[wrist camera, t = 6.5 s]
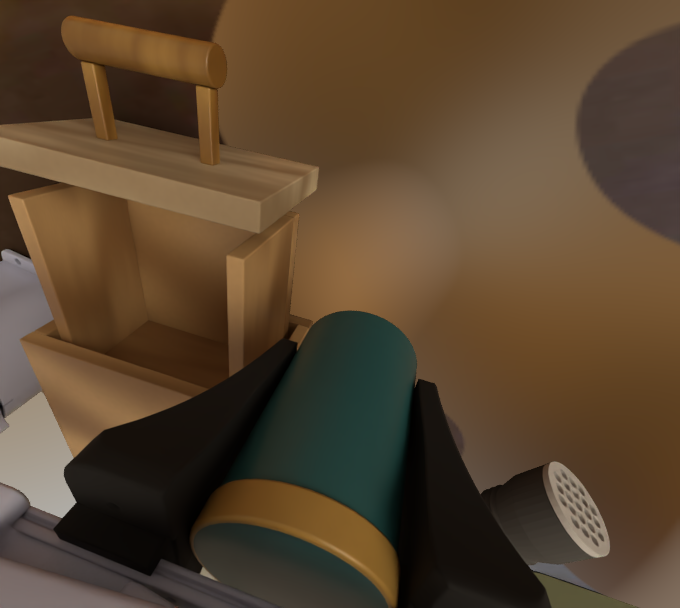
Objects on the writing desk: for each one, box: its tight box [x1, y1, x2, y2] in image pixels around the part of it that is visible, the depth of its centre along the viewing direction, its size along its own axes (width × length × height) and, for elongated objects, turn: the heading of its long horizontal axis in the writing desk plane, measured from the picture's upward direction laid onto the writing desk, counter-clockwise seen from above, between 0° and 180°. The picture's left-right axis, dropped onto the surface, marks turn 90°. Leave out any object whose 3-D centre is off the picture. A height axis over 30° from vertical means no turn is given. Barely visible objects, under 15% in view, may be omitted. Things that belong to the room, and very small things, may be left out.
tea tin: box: [189, 311, 417, 608], centre depth 11 cm, size 5×5×8 cm
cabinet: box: [20, 315, 313, 458], centre depth 25 cm, size 15×14×9 cm
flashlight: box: [481, 461, 610, 565], centre depth 27 cm, size 15×5×5 cm, turn 143°
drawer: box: [0, 16, 319, 389], centre depth 18 cm, size 18×12×7 cm
